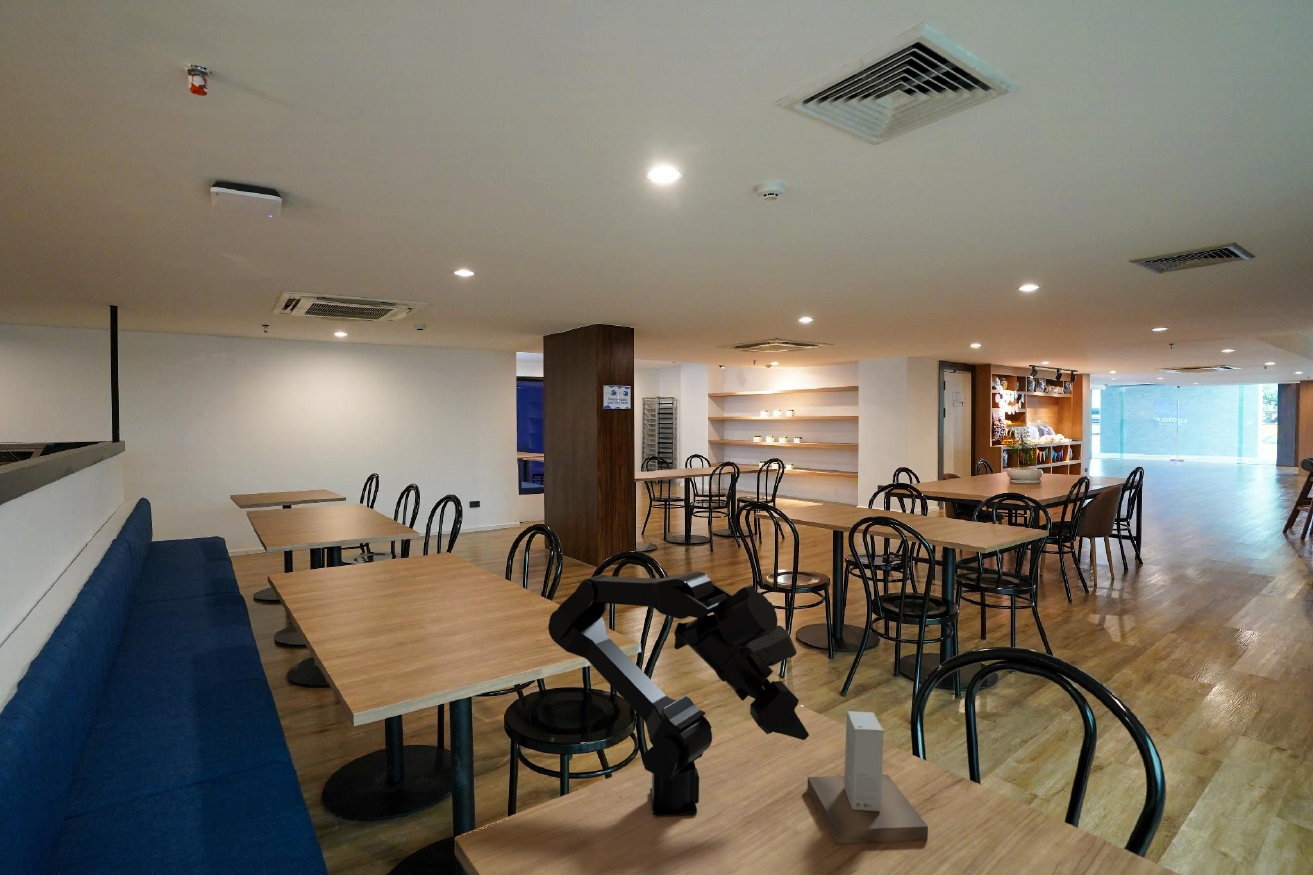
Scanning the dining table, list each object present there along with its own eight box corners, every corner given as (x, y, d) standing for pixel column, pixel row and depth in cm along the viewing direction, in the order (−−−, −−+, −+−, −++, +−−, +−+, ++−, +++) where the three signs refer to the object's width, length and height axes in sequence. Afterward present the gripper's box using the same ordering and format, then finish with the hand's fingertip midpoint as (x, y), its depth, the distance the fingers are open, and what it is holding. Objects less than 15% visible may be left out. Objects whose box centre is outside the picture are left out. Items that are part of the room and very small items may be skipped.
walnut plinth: (836, 843, 91) (837, 829, 91) (807, 789, 104) (807, 776, 104) (927, 840, 92) (928, 826, 92) (887, 786, 105) (887, 774, 105)
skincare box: (881, 812, 95) (884, 731, 95) (851, 810, 96) (854, 729, 95) (871, 788, 101) (874, 711, 101) (843, 786, 102) (845, 710, 101)
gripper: (785, 632, 87) (861, 710, 89) (743, 593, 105) (807, 658, 108) (726, 695, 86) (804, 771, 88) (693, 644, 104) (759, 708, 107)
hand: (794, 721), depth 98 cm, fingers open, 9 cm apart
